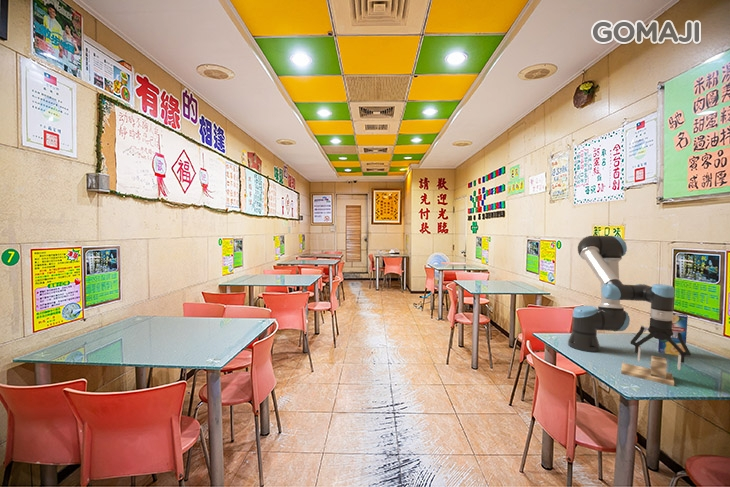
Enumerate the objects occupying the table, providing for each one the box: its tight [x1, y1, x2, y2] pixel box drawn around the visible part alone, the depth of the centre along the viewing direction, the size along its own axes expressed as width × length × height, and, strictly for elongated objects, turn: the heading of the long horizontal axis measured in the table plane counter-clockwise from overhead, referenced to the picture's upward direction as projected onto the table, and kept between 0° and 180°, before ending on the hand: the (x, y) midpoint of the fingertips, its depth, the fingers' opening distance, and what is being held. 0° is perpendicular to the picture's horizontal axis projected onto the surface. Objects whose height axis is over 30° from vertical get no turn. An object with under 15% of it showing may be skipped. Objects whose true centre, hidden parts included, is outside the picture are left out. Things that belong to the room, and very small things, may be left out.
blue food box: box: [657, 312, 688, 357], centre depth 179 cm, size 7×11×22 cm, turn 49°
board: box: [620, 362, 675, 387], centre depth 150 cm, size 18×12×2 cm, turn 50°
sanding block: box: [650, 355, 668, 379], centre depth 148 cm, size 5×8×7 cm, turn 139°
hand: (658, 364), depth 148 cm, fingers open, 13 cm apart
